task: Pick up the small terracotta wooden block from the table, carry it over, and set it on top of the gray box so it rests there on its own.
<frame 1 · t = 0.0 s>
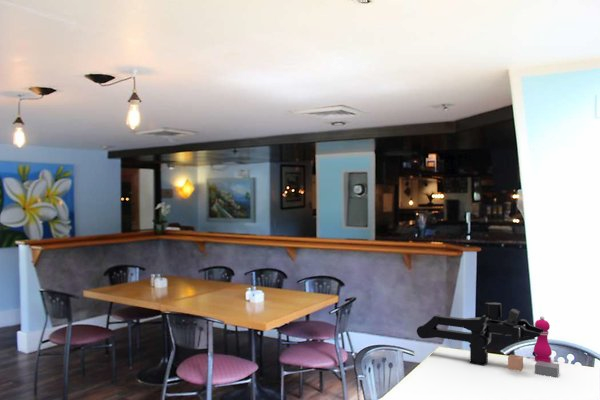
hand: (541, 332, 195), 17 cm above the table, tool horizontal, fingers open, 9 cm apart
gray box: (547, 374, 194), on the table
pepper mill: (542, 361, 212), on the table
terracotta block: (515, 368, 201), on the table
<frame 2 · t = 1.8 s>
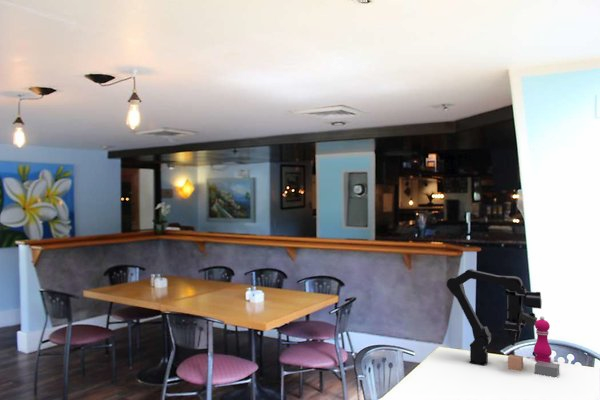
hand: (515, 343, 201), 11 cm above the table, tool pointing down, fingers open, 9 cm apart
nothing on the table moved.
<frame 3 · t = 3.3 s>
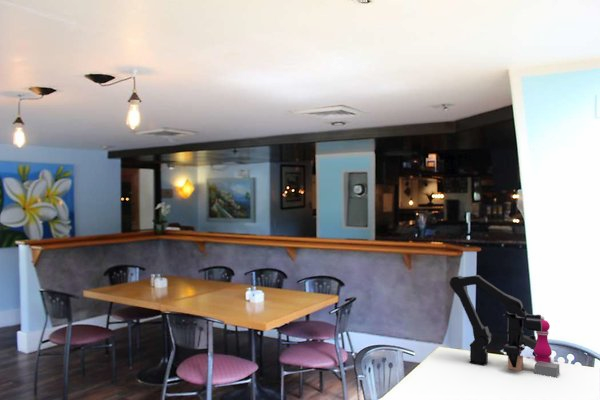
hand: (515, 365, 201), 1 cm above the table, tool pointing down, fingers closed on terracotta block, 5 cm apart
terracotta block: (515, 368, 201), on the table, touching gripper
everything else where it was.
when the fingers open (6 cm above the table, at t = 6.7 s): terracotta block drops 1 cm, resting on gray box.
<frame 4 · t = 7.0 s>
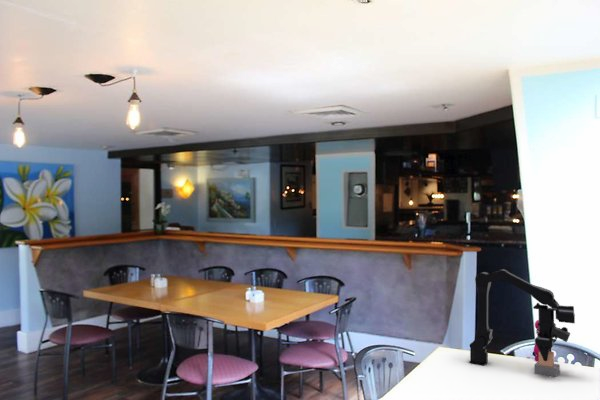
hand: (546, 358, 194), 6 cm above the table, tool pointing down, fingers open, 8 cm apart
gray box: (547, 374, 194), on the table, touching terracotta block
terracotta block: (546, 364, 194), point 4 cm above the table, touching gray box
everything else where it was.
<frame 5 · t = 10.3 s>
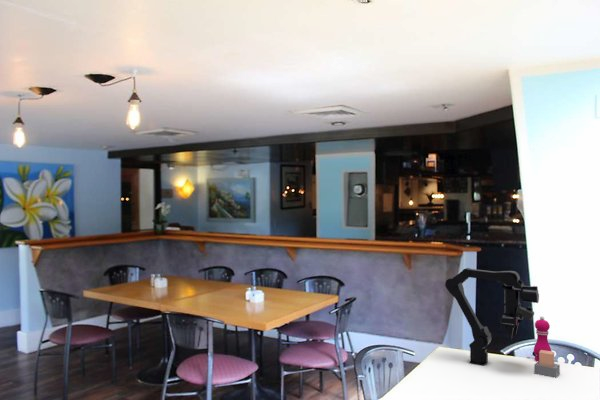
hand: (512, 337, 201), 13 cm above the table, tool pointing down, fingers open, 9 cm apart
nothing on the table moved.
at the end: terracotta block 0.4 cm off-centre on the gray box, point 4.0 cm above the gray box's base; terracotta block tilted 0°; the gripper is holding nothing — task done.
